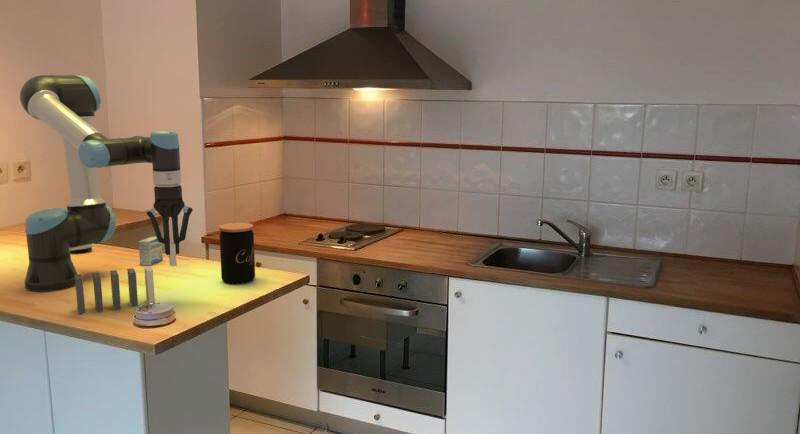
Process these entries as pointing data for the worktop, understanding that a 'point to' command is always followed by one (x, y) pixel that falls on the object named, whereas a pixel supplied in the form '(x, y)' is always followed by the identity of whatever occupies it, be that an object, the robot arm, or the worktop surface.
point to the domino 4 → (132, 287)
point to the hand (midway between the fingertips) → (173, 265)
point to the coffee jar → (237, 253)
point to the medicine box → (150, 251)
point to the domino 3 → (115, 289)
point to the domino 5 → (149, 285)
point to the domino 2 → (98, 291)
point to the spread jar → (81, 249)
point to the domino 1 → (79, 294)
